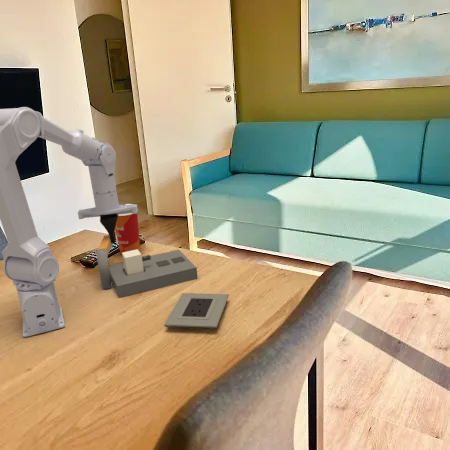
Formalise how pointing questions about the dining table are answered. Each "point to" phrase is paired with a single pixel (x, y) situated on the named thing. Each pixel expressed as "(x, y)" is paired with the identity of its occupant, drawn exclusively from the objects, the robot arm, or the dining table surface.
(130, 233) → the paper cup
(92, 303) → the dining table surface
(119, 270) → the power block
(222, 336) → the dining table surface
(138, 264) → the plug
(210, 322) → the electrical outlet
